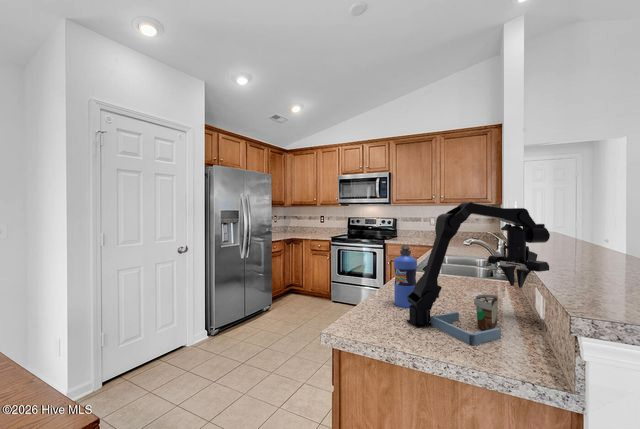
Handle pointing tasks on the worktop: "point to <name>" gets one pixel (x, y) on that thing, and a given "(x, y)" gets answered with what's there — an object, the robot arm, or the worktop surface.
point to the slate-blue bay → (470, 338)
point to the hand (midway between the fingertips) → (516, 286)
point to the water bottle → (404, 277)
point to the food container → (486, 311)
